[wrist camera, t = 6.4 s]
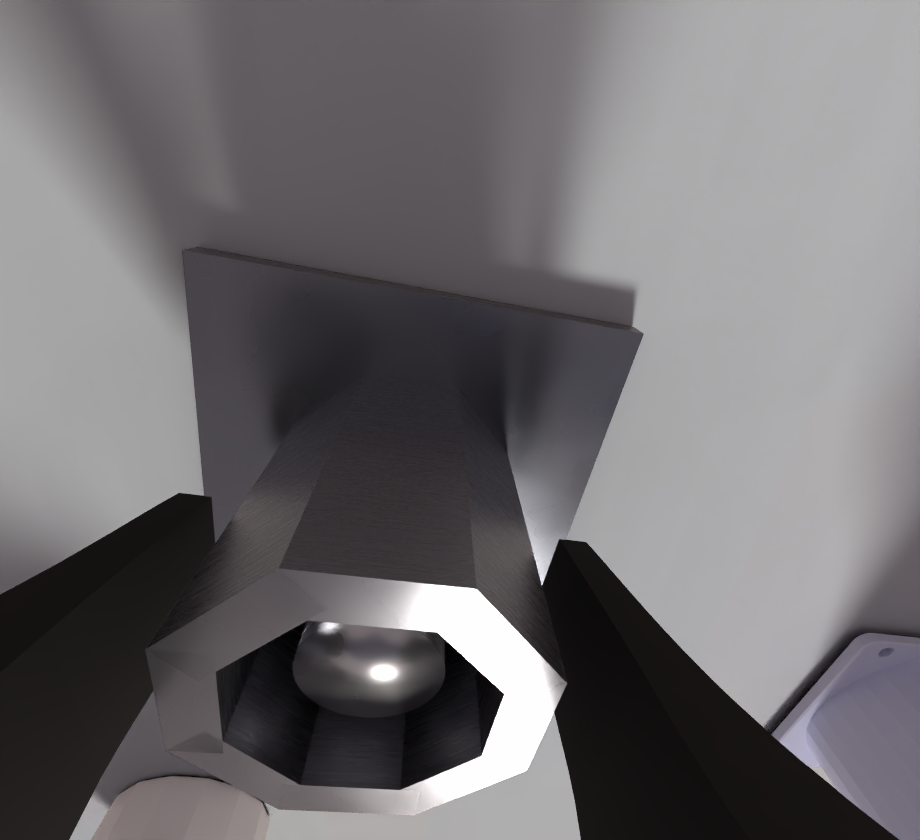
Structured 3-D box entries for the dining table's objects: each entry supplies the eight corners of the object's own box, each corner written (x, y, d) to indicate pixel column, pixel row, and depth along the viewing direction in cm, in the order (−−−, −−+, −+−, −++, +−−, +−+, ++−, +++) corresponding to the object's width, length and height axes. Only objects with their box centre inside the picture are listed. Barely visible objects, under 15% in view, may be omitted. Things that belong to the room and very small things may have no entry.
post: (633, 327, 11) (819, 449, 5) (528, 612, 15) (575, 833, 10) (197, 246, 9) (-105, 304, 4) (222, 582, 14) (89, 813, 9)
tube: (522, 399, 11) (605, 602, 5) (478, 563, 13) (504, 819, 8) (295, 364, 10) (125, 552, 5) (291, 542, 12) (176, 804, 7)
